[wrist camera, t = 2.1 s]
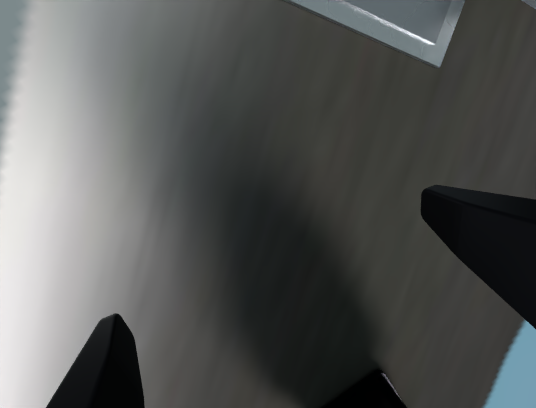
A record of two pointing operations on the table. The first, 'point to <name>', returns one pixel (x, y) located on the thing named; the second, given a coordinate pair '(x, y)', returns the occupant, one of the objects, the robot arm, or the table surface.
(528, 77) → the table surface
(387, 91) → the table surface
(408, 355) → the table surface
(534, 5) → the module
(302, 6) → the case
